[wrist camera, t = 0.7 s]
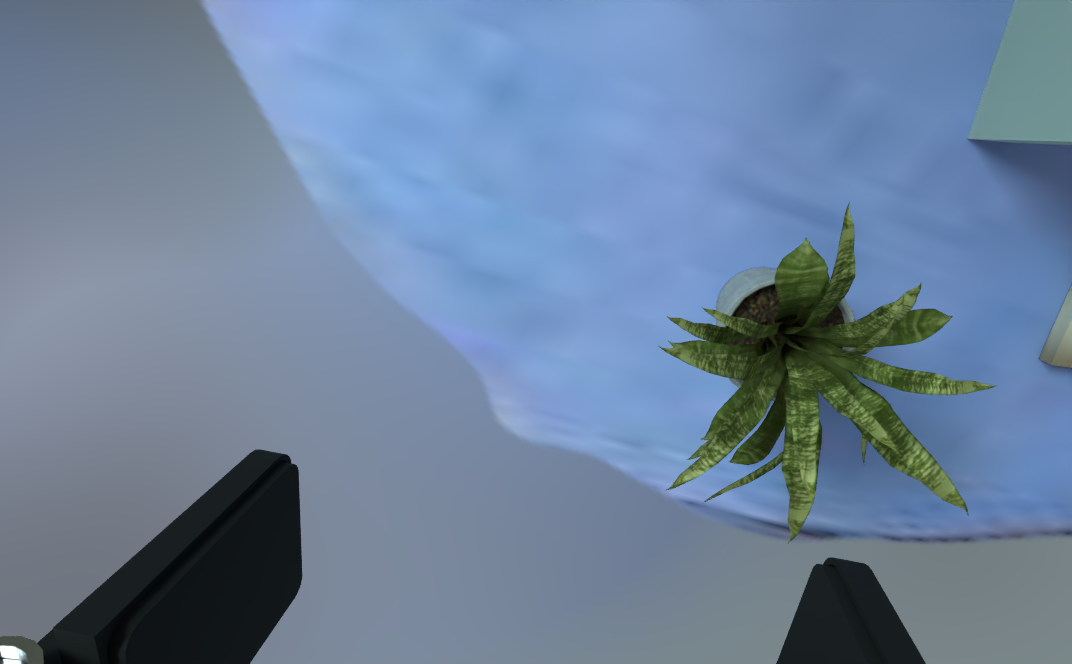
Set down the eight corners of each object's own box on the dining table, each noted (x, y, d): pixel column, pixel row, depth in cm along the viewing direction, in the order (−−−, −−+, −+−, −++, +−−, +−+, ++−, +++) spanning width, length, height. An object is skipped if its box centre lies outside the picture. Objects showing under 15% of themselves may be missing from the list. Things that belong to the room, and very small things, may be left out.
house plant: (611, 207, 35) (607, 269, 19) (852, 144, 32) (1070, 159, 16) (658, 409, 39) (685, 590, 24) (874, 370, 36) (1064, 549, 21)
